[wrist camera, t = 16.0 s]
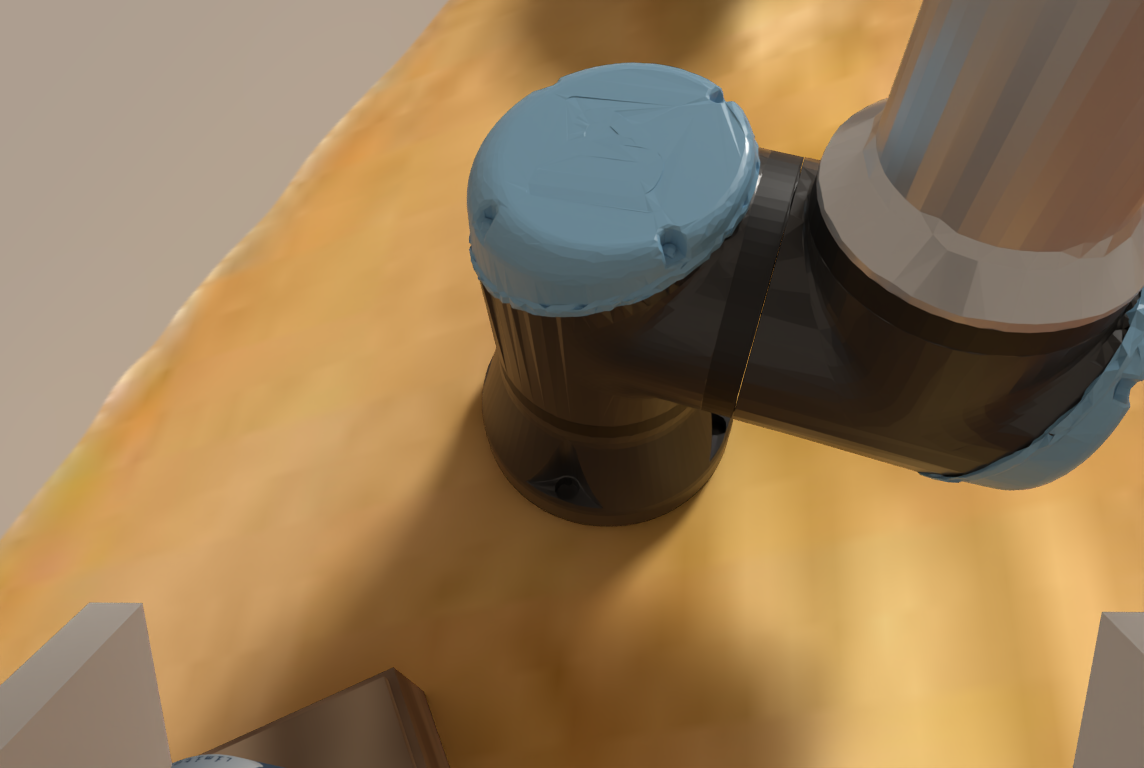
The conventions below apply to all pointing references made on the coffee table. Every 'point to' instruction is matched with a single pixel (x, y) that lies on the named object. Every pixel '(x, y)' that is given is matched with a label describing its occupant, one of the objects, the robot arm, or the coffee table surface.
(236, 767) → the soda can
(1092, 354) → the robot arm
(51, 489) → the coffee table surface
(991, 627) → the coffee table surface
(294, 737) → the block
